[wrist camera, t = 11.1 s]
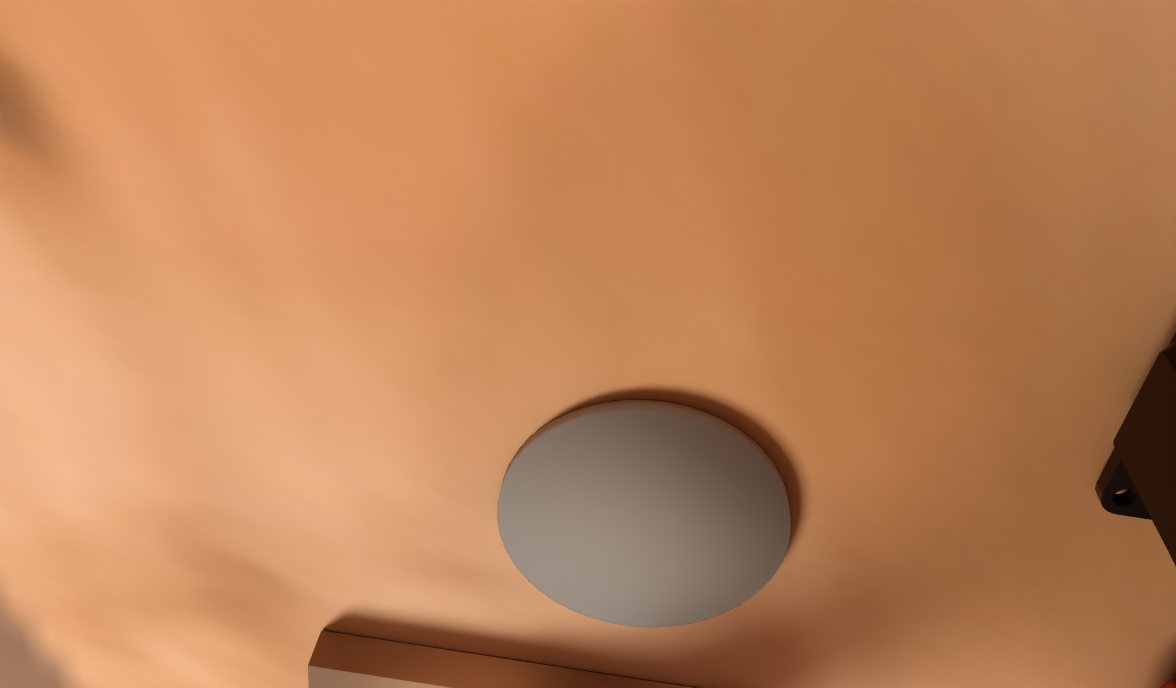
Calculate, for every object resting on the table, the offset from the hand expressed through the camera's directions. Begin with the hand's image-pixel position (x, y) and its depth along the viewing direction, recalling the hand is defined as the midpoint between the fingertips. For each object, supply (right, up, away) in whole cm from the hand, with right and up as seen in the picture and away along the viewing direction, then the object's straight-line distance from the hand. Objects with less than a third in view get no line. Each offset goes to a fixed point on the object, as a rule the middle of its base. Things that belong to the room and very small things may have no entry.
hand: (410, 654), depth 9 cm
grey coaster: (+3, -1, +16) cm, 17 cm away
